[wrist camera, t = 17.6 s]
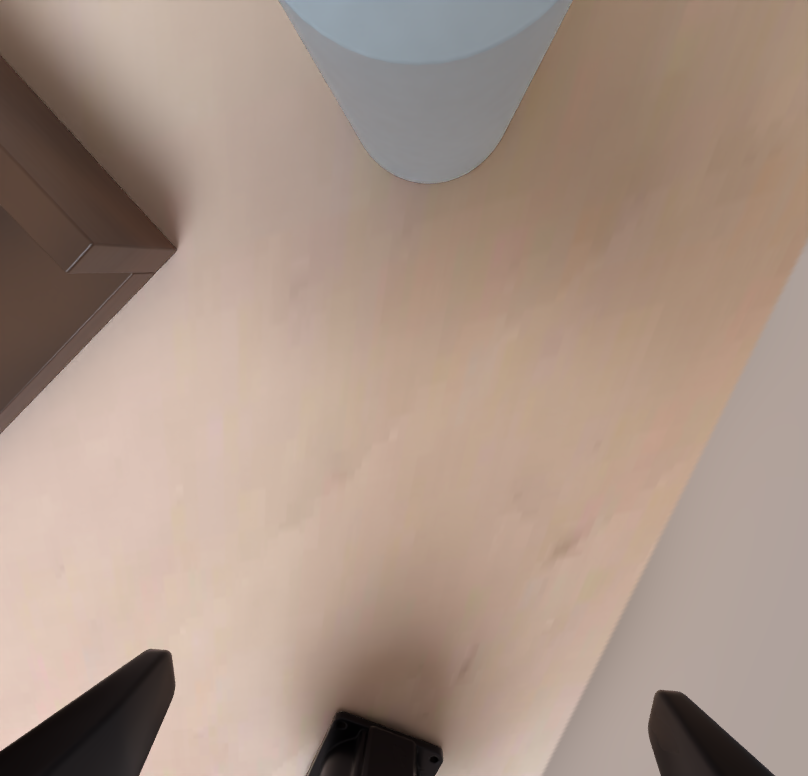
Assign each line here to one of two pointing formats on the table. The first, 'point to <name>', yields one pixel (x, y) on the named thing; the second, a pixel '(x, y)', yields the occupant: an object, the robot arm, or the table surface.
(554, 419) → the table surface
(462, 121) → the pale blue cylinder
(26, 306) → the tray
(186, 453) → the table surface
